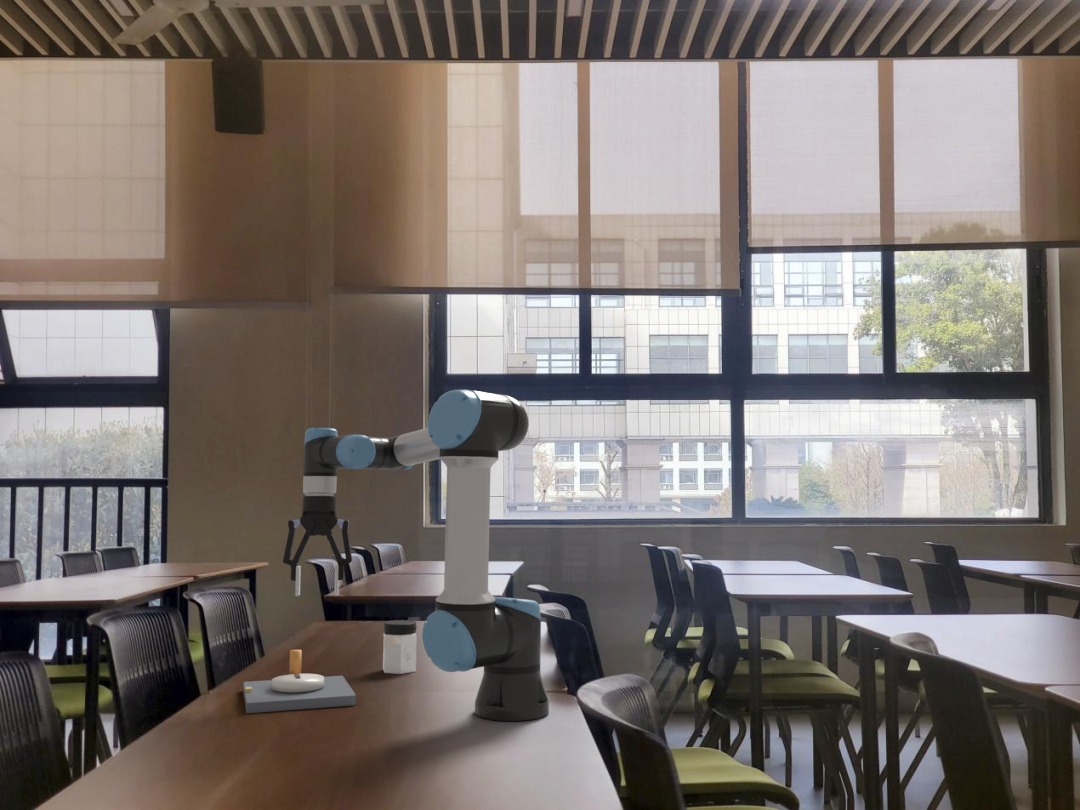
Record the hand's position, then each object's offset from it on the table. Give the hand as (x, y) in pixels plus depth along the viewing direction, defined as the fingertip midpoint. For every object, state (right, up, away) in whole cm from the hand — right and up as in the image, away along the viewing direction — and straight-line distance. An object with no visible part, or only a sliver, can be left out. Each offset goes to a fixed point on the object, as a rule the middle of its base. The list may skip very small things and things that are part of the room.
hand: (317, 594), depth 208 cm
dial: (-2, -18, -8) cm, 20 cm away
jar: (+16, -24, +21) cm, 35 cm away
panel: (-2, -20, -10) cm, 23 cm away
